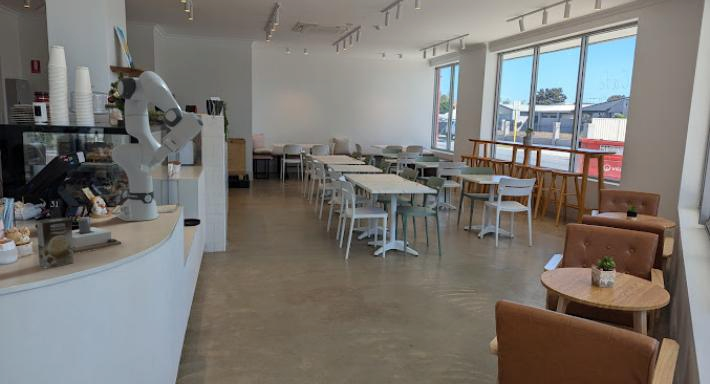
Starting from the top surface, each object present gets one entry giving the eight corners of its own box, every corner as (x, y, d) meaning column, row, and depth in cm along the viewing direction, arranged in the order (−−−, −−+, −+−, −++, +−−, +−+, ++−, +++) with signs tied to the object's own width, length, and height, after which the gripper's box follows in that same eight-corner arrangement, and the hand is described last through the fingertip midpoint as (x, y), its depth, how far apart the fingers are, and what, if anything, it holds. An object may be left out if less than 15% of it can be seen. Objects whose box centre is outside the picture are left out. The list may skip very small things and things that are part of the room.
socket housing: (59, 242, 197) (58, 232, 196) (93, 236, 208) (93, 227, 208) (76, 247, 189) (75, 237, 188) (111, 241, 201) (110, 231, 200)
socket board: (49, 244, 198) (49, 239, 197) (93, 236, 212) (93, 231, 212) (76, 253, 185) (76, 248, 185) (121, 244, 200) (121, 239, 200)
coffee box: (45, 268, 166) (42, 223, 164) (39, 265, 170) (35, 220, 168) (74, 263, 173) (71, 219, 171) (67, 259, 177) (64, 216, 175)
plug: (78, 241, 198) (76, 218, 197) (88, 240, 201) (86, 216, 200) (83, 243, 196) (81, 219, 195) (93, 241, 199) (91, 217, 198)
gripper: (169, 137, 221) (147, 158, 220) (164, 139, 202) (140, 162, 200) (180, 147, 223) (158, 168, 222) (176, 149, 203) (152, 173, 202)
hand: (149, 165), depth 211 cm, fingers open, 8 cm apart
